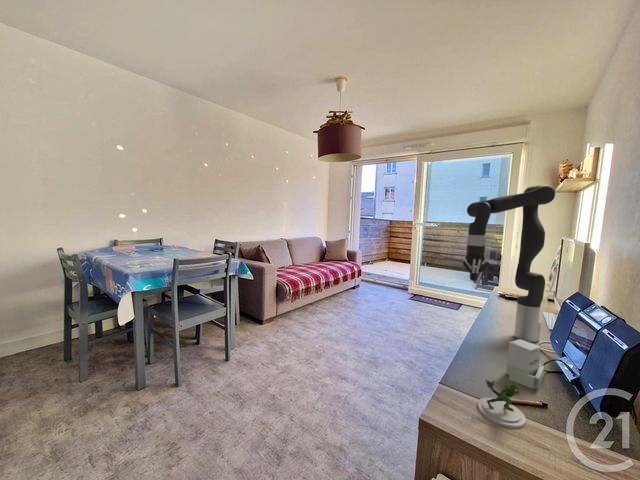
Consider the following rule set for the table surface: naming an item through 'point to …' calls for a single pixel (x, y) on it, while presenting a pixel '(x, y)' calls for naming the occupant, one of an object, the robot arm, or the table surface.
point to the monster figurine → (502, 407)
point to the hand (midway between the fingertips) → (473, 280)
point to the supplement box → (523, 357)
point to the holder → (528, 377)
